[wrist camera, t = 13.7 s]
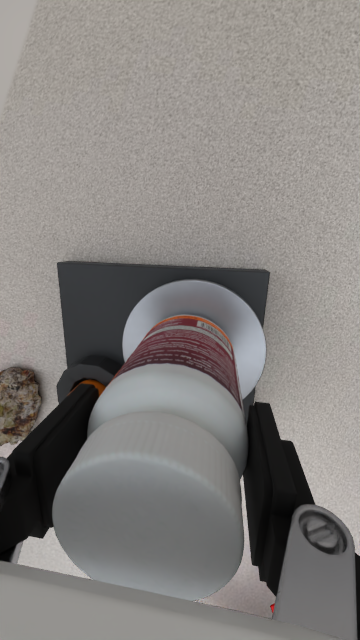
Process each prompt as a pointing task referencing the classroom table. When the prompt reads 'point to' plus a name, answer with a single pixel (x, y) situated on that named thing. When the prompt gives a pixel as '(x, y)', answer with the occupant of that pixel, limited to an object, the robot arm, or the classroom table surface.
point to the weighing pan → (210, 305)
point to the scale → (128, 310)
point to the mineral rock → (17, 404)
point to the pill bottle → (162, 468)
